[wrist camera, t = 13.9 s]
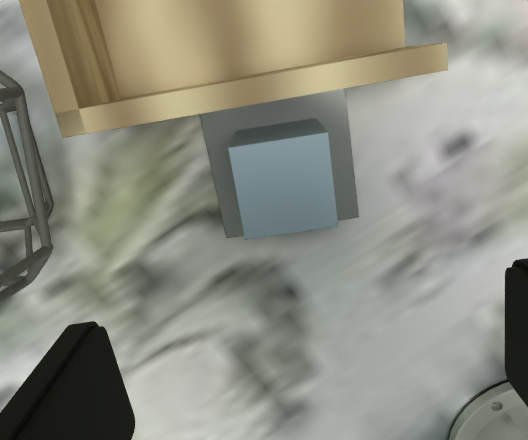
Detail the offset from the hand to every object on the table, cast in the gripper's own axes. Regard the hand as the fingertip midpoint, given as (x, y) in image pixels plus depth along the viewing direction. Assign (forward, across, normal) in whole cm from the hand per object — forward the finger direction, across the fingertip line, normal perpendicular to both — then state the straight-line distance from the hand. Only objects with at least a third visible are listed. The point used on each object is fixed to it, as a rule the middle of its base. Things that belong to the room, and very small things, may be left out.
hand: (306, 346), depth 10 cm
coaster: (+20, 0, 0) cm, 20 cm away
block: (+20, 0, 0) cm, 20 cm away
